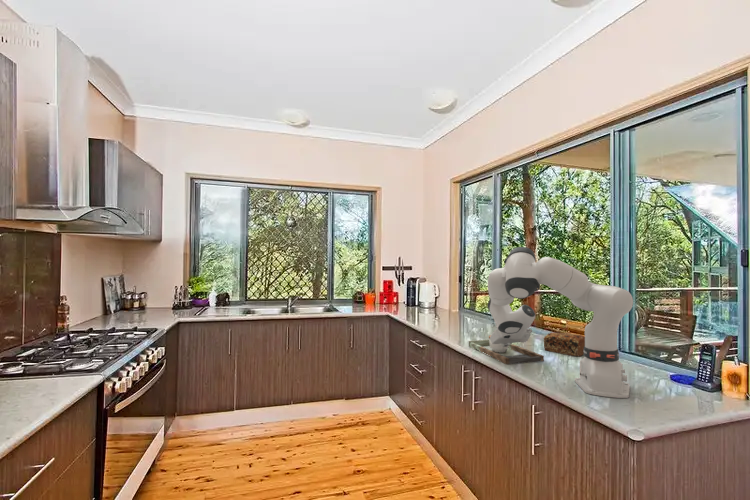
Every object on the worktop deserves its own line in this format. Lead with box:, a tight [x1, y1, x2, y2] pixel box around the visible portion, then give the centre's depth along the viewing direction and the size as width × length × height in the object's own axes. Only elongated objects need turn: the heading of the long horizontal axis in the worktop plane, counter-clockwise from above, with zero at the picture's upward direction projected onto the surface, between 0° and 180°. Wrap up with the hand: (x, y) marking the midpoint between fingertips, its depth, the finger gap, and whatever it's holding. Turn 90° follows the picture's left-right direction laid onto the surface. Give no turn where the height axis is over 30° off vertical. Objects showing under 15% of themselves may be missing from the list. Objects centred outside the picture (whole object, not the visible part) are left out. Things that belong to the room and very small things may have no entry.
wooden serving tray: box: [468, 339, 545, 365], centre depth 204 cm, size 38×20×3 cm, turn 14°
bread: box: [543, 332, 585, 357], centre depth 204 cm, size 19×11×10 cm, turn 35°
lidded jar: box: [488, 334, 509, 353], centre depth 208 cm, size 11×11×9 cm
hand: (504, 345), depth 202 cm, fingers closed, pressing on lidded jar
